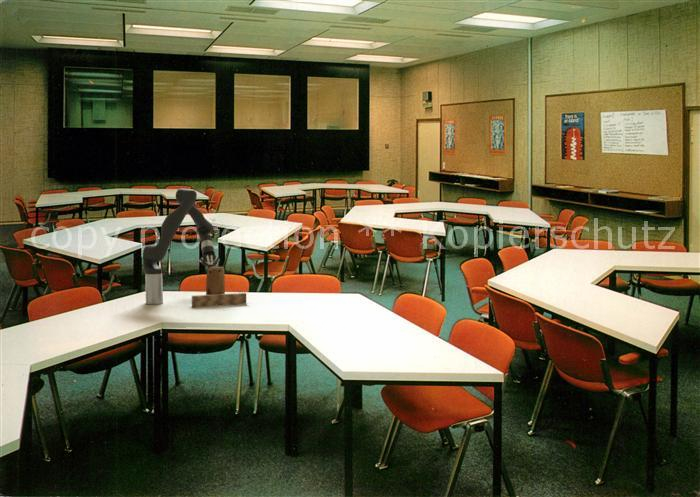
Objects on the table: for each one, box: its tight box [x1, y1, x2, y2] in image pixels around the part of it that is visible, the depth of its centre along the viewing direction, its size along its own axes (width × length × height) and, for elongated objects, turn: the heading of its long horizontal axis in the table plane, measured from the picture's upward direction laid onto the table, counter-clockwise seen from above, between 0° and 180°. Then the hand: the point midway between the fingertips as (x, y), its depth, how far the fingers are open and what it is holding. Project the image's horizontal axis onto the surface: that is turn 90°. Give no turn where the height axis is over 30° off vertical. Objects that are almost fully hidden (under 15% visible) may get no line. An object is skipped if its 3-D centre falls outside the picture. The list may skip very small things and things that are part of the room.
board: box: [191, 292, 247, 308], centre depth 331 cm, size 30×3×6 cm, turn 111°
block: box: [205, 265, 226, 295], centre depth 344 cm, size 11×8×20 cm
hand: (211, 270), depth 359 cm, fingers closed
